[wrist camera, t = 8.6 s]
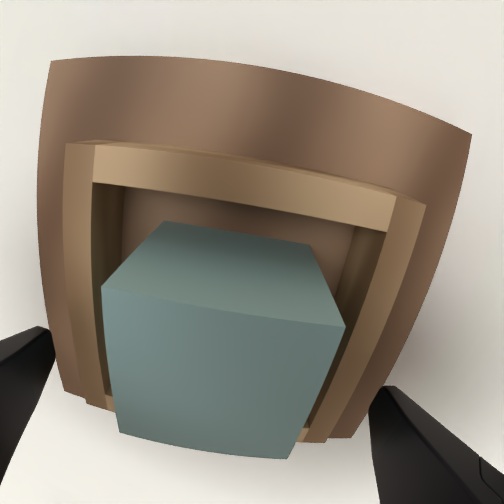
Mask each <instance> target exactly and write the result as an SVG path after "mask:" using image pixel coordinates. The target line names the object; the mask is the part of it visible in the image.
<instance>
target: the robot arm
mask: <svg viewBox="0 0 504 504" xmlns="http://www.w3.org/2000/svg"><path fill="white" fill-rule="evenodd" d="M55 358H56V352H55V347H54V343H53V338H52V333H51V331H50V330H49V329H46V328H43V327H40V326H36V327H33V328H31V329H28V330H26V331H23V332H21V333H18V334H16V335H13V336H11V337H8V338H6V339H3V340H1V341H0V485H1V482H2V480H3V477H4V475H5V472H6V470H7V467H8V465H9V463H10V460H11V458H12V456H13V454H14V451H15V449H16V447H17V445H18V443H19V440H20V438H21V436H22V434H23V432H24V430H25V428H26V426H27V424H28V421H29V419H30V417H31V415H32V413H33V411H34V410H35V407H36V405H37V403H38V401H39V399H40V396H41V394H42V391H43V388H44V386H45V383H46V381H47V378H48V376H49V373H50V371H51V369H52V366H53V364H54V362H55ZM368 416H369V427H370V438H371V450H372V459H373V466H374V471H375V476H376V482H377V488H378V493H379V499H380V504H504V474H502V473H501V472H500V471H498V470H497V469H496V468H494V467H493V466H492V465H490V464H489V463H488V462H487V461H486V460H484V459H483V458H482V457H479V455H478V454H477V453H476V452H474V451H473V450H472V449H471V448H470V447H468V446H467V445H466V444H465V443H464V442H462V441H461V440H460V439H459V438H457V437H456V436H455V435H454V434H453V433H451V432H450V431H449V430H448V429H447V428H445V427H444V426H443V425H442V424H440V423H439V422H438V421H437V420H436V419H434V418H433V417H432V416H431V415H430V414H428V413H427V412H426V411H425V410H424V409H422V408H421V407H420V406H419V405H418V404H416V403H415V402H414V401H413V400H412V399H410V398H409V397H408V396H407V395H406V394H404V393H403V392H402V391H401V390H400V389H398V388H397V387H396V386H382V387H381V388H380V389H379V390H378V392H377V394H376V396H375V397H374V399H373V401H372V402H371V404H370V406H369V410H368Z"/></svg>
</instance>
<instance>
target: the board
mask: <svg viewBox="0 0 504 504" xmlns="http://www.w3.org/2000/svg"><path fill="white" fill-rule="evenodd" d="M471 137H472V134H470V133H468V132H466V131H464V130H462V129H460V128H458V127H456V126H453V125H451V124H449V123H447V122H445V121H442V120H440V119H438V118H435V117H433V116H431V115H428V114H426V113H423V112H421V111H418V110H416V109H413V108H411V107H408V106H405V105H403V104H400V103H397V102H394V101H392V100H389V99H386V98H383V97H380V96H377V95H374V94H371V93H368V92H365V91H361V90H358V89H355V88H351V87H348V86H344V85H341V84H337V83H333V82H330V81H326V80H322V79H318V78H314V77H309V76H305V75H301V74H296V73H291V72H287V71H282V70H276V69H271V68H265V67H259V66H253V65H247V64H240V63H233V62H225V61H216V60H206V59H195V58H182V57H162V56H106V57H87V58H74V59H64V60H55V61H51V64H50V69H49V74H48V79H47V85H46V91H45V97H44V104H43V111H42V119H41V128H40V139H39V151H38V170H37V225H38V243H39V256H40V267H41V276H42V285H43V292H44V299H45V306H46V312H47V318H48V323H49V329H50V331H51V333H52V338H53V343H54V347H55V352H56V361H57V365H58V369H59V373H60V377H61V380H62V384H63V388H64V391H66V392H69V393H71V394H74V395H77V396H80V397H83V398H85V399H86V403H87V404H90V405H93V406H96V407H99V408H102V409H105V410H109V411H112V412H115V407H114V401H113V395H112V389H111V383H110V376H109V369H108V361H107V353H106V344H105V334H104V323H103V310H102V293H101V286H102V285H103V284H104V283H105V282H106V281H107V280H108V278H109V277H110V276H111V275H112V274H113V273H114V272H115V271H116V270H117V269H118V268H119V266H120V265H121V264H122V263H123V262H124V261H125V260H126V259H127V258H128V257H129V256H130V255H131V254H132V253H133V252H134V251H135V249H136V248H137V247H138V246H139V245H140V244H141V243H142V242H143V241H144V240H145V239H146V238H147V237H148V236H149V235H150V234H151V233H152V232H153V231H154V230H155V229H156V228H157V227H158V226H159V225H160V224H161V223H162V222H163V221H164V220H165V221H172V222H178V223H184V224H190V225H197V226H203V227H209V228H215V229H221V230H227V231H233V232H239V233H245V234H251V235H257V236H263V237H268V238H274V239H280V240H286V241H292V242H297V243H303V244H309V246H310V248H311V250H312V252H313V254H314V256H315V259H316V261H317V263H318V265H319V267H320V270H321V272H322V274H323V276H324V278H325V281H326V283H327V285H328V287H329V290H330V292H331V294H332V296H333V299H334V301H335V303H336V305H337V308H338V310H339V312H340V315H341V317H342V319H343V322H344V324H345V326H346V328H345V330H344V333H343V336H342V338H341V341H340V344H339V346H338V349H337V351H336V354H335V356H334V359H333V361H332V364H331V366H330V368H329V371H328V373H327V376H326V378H325V380H324V383H323V385H322V387H321V389H320V392H319V394H318V396H317V398H316V401H315V403H314V405H313V407H312V409H311V412H310V414H309V416H308V418H307V420H306V422H305V424H304V426H303V428H302V431H301V433H300V435H299V437H298V439H297V441H296V442H309V443H325V442H326V440H327V438H351V437H352V436H353V434H354V433H355V431H356V430H357V428H358V427H359V425H360V423H361V422H362V420H363V419H364V417H365V415H366V414H367V412H368V410H369V406H370V404H371V402H372V401H373V399H374V397H375V396H376V394H377V392H378V390H379V389H380V388H381V387H382V386H383V385H384V383H385V381H386V379H387V377H388V375H389V373H390V372H391V370H392V368H393V366H394V364H395V362H396V360H397V358H398V356H399V354H400V352H401V350H402V348H403V346H404V344H405V342H406V340H407V338H408V335H409V333H410V331H411V329H412V327H413V325H414V322H415V320H416V318H417V316H418V313H419V311H420V309H421V306H422V304H423V301H424V299H425V297H426V294H427V292H428V289H429V287H430V284H431V281H432V279H433V276H434V273H435V271H436V268H437V265H438V262H439V260H440V257H441V254H442V251H443V248H444V245H445V242H446V239H447V236H448V232H449V229H450V226H451V223H452V219H453V216H454V212H455V209H456V205H457V201H458V197H459V193H460V189H461V185H462V181H463V177H464V173H465V168H466V163H467V159H468V154H469V148H470V143H471ZM115 413H116V412H115Z"/></svg>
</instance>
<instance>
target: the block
mask: <svg viewBox="0 0 504 504" xmlns="http://www.w3.org/2000/svg"><path fill="white" fill-rule="evenodd" d="M101 293H102V310H103V323H104V334H105V344H106V353H107V361H108V369H109V376H110V383H111V389H112V395H113V401H114V407H115V412H116V417H117V422H118V427H119V432H120V433H124V434H127V435H131V436H135V437H139V438H143V439H147V440H151V441H155V442H160V443H164V444H169V445H174V446H179V447H184V448H189V449H195V450H201V451H207V452H214V453H221V454H229V455H238V456H247V457H259V458H273V459H287V458H288V456H289V454H290V452H291V451H292V449H293V447H294V445H295V443H296V441H297V439H298V437H299V435H300V433H301V431H302V428H303V426H304V424H305V422H306V420H307V418H308V416H309V414H310V412H311V409H312V407H313V405H314V403H315V401H316V398H317V396H318V394H319V392H320V389H321V387H322V385H323V383H324V380H325V378H326V376H327V373H328V371H329V368H330V366H331V364H332V361H333V359H334V356H335V354H336V351H337V349H338V346H339V344H340V341H341V338H342V336H343V333H344V330H345V328H346V326H345V324H344V322H343V319H342V317H341V315H340V312H339V310H338V308H337V305H336V303H335V301H334V299H333V296H332V294H331V292H330V290H329V287H328V285H327V283H326V281H325V278H324V276H323V274H322V272H321V270H320V267H319V265H318V263H317V261H316V259H315V256H314V254H313V252H312V250H311V248H310V246H309V244H303V243H297V242H292V241H286V240H280V239H274V238H268V237H263V236H257V235H251V234H245V233H239V232H233V231H227V230H221V229H215V228H209V227H203V226H197V225H190V224H184V223H178V222H172V221H165V220H164V221H163V222H162V223H161V224H160V225H159V226H158V227H157V228H156V229H155V230H154V231H153V232H152V233H151V234H150V235H149V236H148V237H147V238H146V239H145V240H144V241H143V242H142V243H141V244H140V245H139V246H138V247H137V248H136V249H135V251H134V252H133V253H132V254H131V255H130V256H129V257H128V258H127V259H126V260H125V261H124V262H123V263H122V264H121V265H120V266H119V268H118V269H117V270H116V271H115V272H114V273H113V274H112V275H111V276H110V277H109V278H108V280H107V281H106V282H105V283H104V284H103V285H102V286H101Z"/></svg>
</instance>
